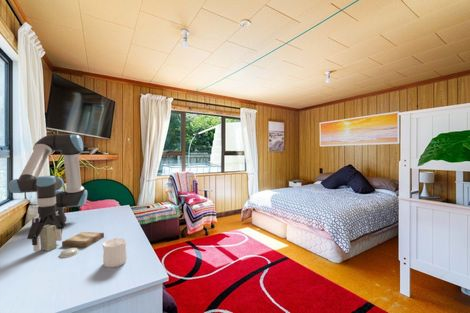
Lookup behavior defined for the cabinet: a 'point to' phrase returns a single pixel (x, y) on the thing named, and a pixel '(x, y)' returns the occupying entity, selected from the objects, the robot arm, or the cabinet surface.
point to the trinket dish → (69, 252)
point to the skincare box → (48, 238)
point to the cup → (114, 252)
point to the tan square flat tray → (82, 239)
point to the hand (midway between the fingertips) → (48, 245)
